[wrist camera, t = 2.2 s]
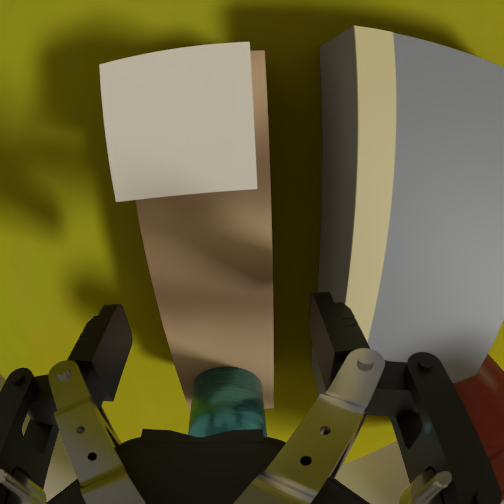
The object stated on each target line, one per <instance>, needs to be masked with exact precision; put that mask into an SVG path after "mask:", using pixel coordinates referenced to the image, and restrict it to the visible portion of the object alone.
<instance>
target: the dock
mask: <svg viewBox="0 0 504 504" xmlns="http://www.w3.org/2000/svg"><path fill="white" fill-rule="evenodd" d="M319 56H320V77H321V106H322V199H321V230H320V252H319V270H318V285H317V293H318V292H328V291H329V292H330V294H331V296H332V298H333V300H334V303H338V302H343V303H344V304H345V305H347V306H348V307H349V308H350V309H351V311H352V313H353V314H354V316H355V319H356V320H357V322H358V325H359V326H360V328H361V330H362V332H363V334H364V336H365V338H366V340H367V343H368V345H369V347H370V349H372V350H375V351H377V352H378V353H380V354H381V355H382V356H383V358H384V360H387V361H392V362H407V361H408V358H409V357H410V356H411V355H412V354H414V353H417V352H427V353H431V354H433V355H435V356H436V357H437V358H438V359H439V360H440V361H441V363H442V365H443V366H444V368H445V370H446V372H447V374H448V376H449V377H450V379H451V381H452V383H456V382H459V381H461V380H464V379H467V378H470V377H472V376H475V375H476V374H477V372H478V371H479V369H480V367H481V365H482V363H483V361H484V360H485V358H486V356H487V354H488V352H489V350H490V348H491V346H492V344H493V342H494V340H495V338H496V336H497V334H498V331H499V329H500V327H501V325H502V323H503V320H504V67H501V66H499V65H497V64H494V63H492V62H489V61H487V60H484V59H482V58H479V57H477V56H474V55H471V54H468V53H465V52H462V51H460V50H456V49H453V48H450V47H447V46H444V45H440V44H437V43H433V42H430V41H426V40H422V39H418V38H414V37H410V36H406V35H401V34H397V33H393V32H390V31H385V30H380V29H374V28H368V27H362V26H355V25H354V26H353V27H351V28H349V29H347V30H346V31H344V32H342V33H341V34H339V35H337V36H336V37H334V38H332V39H331V40H329V41H328V42H326V43H324V44H323V45H321V46H320V47H319ZM311 366H312V370H313V373H314V377H315V381H316V385H317V389H318V393H319V395H320V394H321V393H322V392H323V393H326V389H325V385H324V382H323V378H322V375H321V371H320V368H319V364H318V361H317V358H316V354H315V351H314V347H313V345H312V355H311Z"/></svg>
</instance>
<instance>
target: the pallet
mask: <svg viewBox="0 0 504 504" xmlns="http://www.w3.org/2000/svg"><path fill="white" fill-rule="evenodd" d="M250 55H251V73H252V91H253V110H254V129H255V149H256V169H257V189H251V190H236V191H222V192H210V193H198V194H187V195H176V196H166V197H157V198H148V199H139V200H135V202H136V208H137V213H138V219H139V224H140V229H141V234H142V239H143V244H144V249H145V254H146V258H147V263H148V267H149V272H150V276H151V280H152V285H153V289H154V293H155V297H156V301H157V305H158V308H159V312H160V316H161V320H162V323H163V327H164V331H165V334H166V338H167V341H168V345H169V348H170V351H171V355H172V358H173V361H174V365H175V368H176V371H177V374H178V377H179V380H180V383H181V386H182V389H183V392H184V395H185V398H186V401H187V404H188V407H189V410H190V411H191V401H192V391H193V383H194V381H195V379H196V377H197V376H198V375H199V374H201V373H202V372H204V371H206V370H209V369H212V368H216V367H224V366H229V367H238V368H242V369H245V370H248V371H250V372H252V373H253V374H255V375H256V376H257V377H258V378H259V379H260V381H261V383H262V389H263V399H264V409H268V408H274V317H273V255H272V214H271V181H270V152H269V126H268V103H267V82H266V63H265V50H258V51H250Z"/></svg>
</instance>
